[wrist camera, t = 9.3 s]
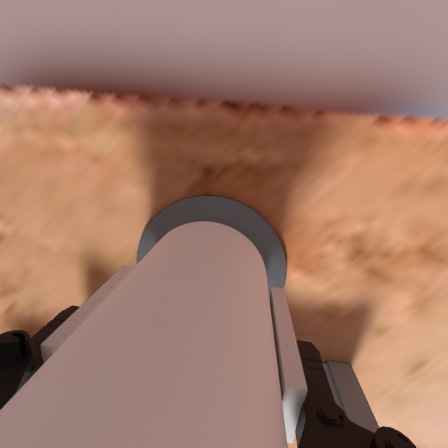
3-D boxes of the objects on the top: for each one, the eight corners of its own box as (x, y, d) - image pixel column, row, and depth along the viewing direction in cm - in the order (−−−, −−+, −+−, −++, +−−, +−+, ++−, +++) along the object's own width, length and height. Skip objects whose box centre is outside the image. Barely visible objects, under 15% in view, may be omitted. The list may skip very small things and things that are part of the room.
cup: (250, 207, 16) (252, 1195, 1) (277, 317, 18) (411, 1166, 3) (132, 236, 18) (-636, 836, 2) (170, 335, 20) (-101, 983, 4)
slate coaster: (138, 318, 21) (136, 321, 21) (139, 186, 18) (137, 187, 18) (272, 340, 21) (272, 343, 20) (299, 206, 17) (300, 207, 17)
